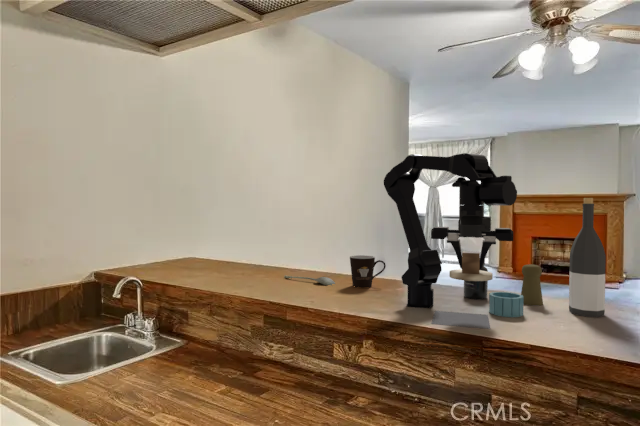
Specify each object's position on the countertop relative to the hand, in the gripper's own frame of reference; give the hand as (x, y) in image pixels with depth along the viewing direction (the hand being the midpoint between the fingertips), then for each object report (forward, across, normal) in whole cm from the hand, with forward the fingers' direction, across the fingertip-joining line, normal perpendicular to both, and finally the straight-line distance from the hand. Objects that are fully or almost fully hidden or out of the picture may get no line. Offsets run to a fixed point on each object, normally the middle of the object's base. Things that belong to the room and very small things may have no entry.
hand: (470, 268), depth 108 cm
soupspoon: (+13, -56, +34) cm, 67 cm away
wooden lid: (+2, 0, 0) cm, 2 cm away
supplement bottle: (+13, +1, +27) cm, 30 cm away
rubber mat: (+12, -2, -2) cm, 13 cm away
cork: (+13, +16, +24) cm, 32 cm away
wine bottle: (+13, +28, +17) cm, 35 cm away
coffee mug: (+13, -34, +32) cm, 49 cm away
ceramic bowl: (+12, +9, +8) cm, 17 cm away
